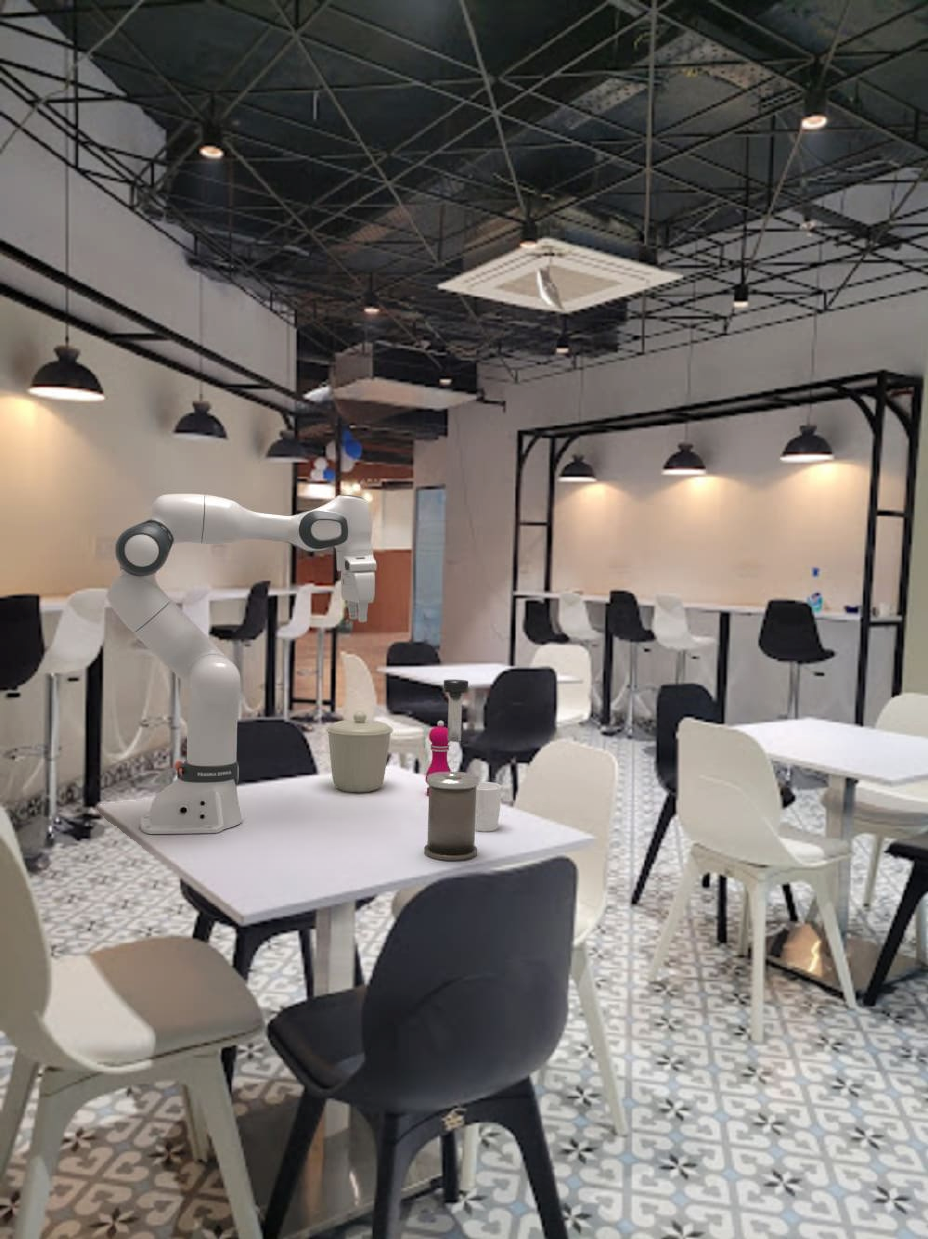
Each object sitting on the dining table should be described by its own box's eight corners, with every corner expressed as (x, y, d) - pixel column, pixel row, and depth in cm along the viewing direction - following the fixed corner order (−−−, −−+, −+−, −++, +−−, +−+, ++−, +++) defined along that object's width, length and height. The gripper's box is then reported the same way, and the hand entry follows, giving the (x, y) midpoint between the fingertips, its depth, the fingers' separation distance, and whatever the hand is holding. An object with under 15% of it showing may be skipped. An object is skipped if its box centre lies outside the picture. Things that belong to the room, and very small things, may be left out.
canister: (378, 779, 258) (380, 705, 256) (401, 793, 241) (403, 715, 240) (316, 783, 250) (318, 707, 249) (336, 799, 233) (338, 718, 232)
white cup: (504, 825, 214) (505, 783, 213) (494, 834, 206) (496, 791, 206) (472, 821, 216) (474, 780, 216) (462, 830, 209) (463, 787, 208)
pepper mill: (453, 792, 244) (455, 719, 243) (450, 799, 237) (452, 723, 236) (426, 791, 245) (429, 718, 244) (423, 797, 238) (425, 722, 237)
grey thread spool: (434, 863, 184) (436, 781, 183) (417, 847, 195) (419, 769, 194) (485, 858, 188) (487, 778, 187) (465, 843, 199) (468, 766, 198)
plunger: (446, 743, 187) (448, 682, 186) (438, 738, 192) (440, 679, 191) (470, 742, 189) (472, 682, 188) (461, 737, 193) (463, 679, 193)
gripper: (333, 563, 225) (336, 618, 226) (351, 564, 206) (354, 624, 207) (358, 562, 227) (361, 616, 228) (378, 562, 208) (381, 622, 209)
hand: (358, 620), depth 217 cm, fingers open, 8 cm apart
